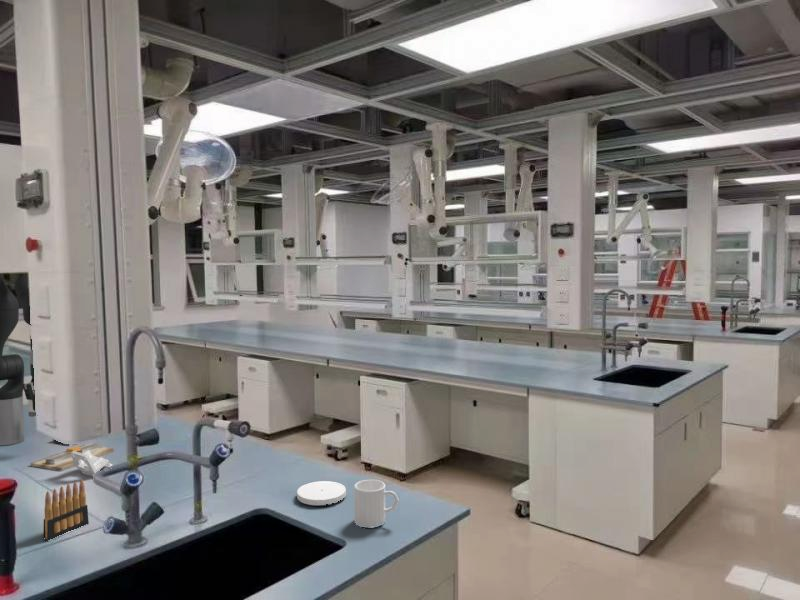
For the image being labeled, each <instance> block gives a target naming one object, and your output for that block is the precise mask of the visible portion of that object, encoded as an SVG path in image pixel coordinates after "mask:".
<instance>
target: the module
mask: <svg viewBox="0 0 800 600" xmlns="http://www.w3.org/2000/svg"><path fill="white" fill-rule="evenodd" d="M27 403H28V405H27V406H28V407H27V409H28V410H27V411H28V417H32V418H33V417H36V412H35V411H34V410H33V402H32V400H27Z"/></svg>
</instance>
